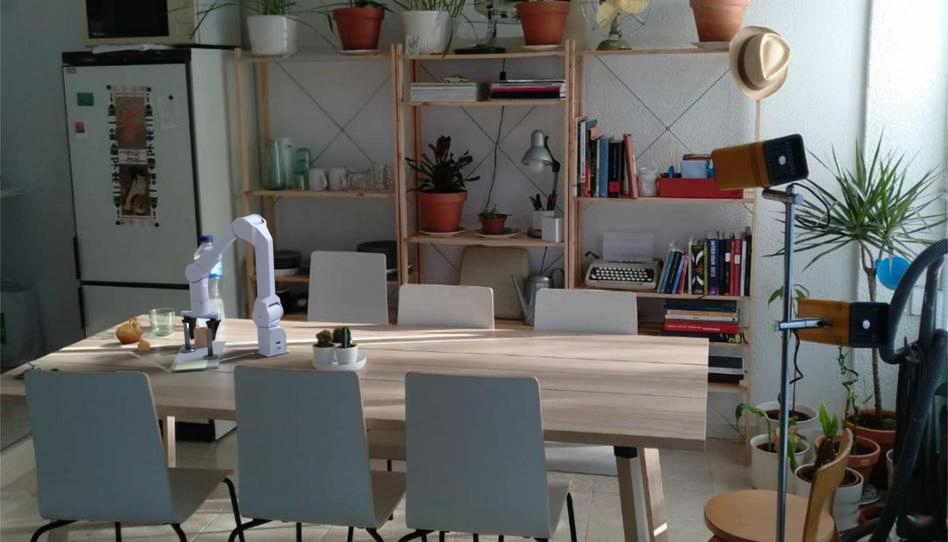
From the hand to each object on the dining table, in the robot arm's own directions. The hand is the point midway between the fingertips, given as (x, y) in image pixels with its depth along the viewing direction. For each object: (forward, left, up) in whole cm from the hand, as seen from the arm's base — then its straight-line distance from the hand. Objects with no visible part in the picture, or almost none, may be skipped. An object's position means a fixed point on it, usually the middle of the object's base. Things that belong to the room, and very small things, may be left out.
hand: (202, 339), depth 333 cm
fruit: (+23, +15, -3) cm, 28 cm away
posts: (-10, +6, -2) cm, 12 cm away
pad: (-20, +14, -2) cm, 24 cm away
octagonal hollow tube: (0, 0, -2) cm, 2 cm away
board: (-10, +6, -2) cm, 12 cm away
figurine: (+9, +17, -3) cm, 20 cm away
